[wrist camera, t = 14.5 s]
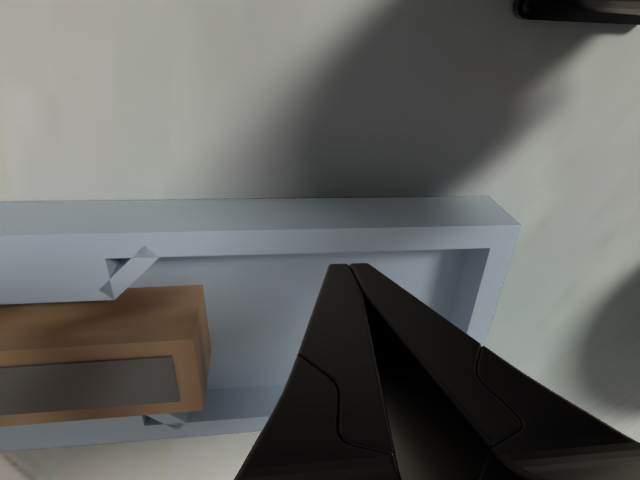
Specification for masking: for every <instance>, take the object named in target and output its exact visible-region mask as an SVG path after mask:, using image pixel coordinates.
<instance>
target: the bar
mask: <svg viewBox="0 0 640 480" xmlns="http://www.w3.org/2000/svg"><path fill="white" fill-rule="evenodd" d="M210 357H211V345H210V337H209V329H208V320H207V312H206V304H205V296H204V288H203V285H184V286H162V287H141V288H127V289H126V290H125V291H124V292H123V293H121V294H120V295H119V296H118V297H117V298H116V299H115V300H101V301H75V302H50V303H24V304H0V427H5V426H18V425H30V424H42V423H55V422H67V421H79V420H92V419H104V418H116V417H129V416H141V415H153V414H166V413H178V412H190V411H203V410H204V404H205V397H206V389H207V381H208V373H209V365H210Z"/></svg>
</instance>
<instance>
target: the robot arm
mask: <svg viewBox="0 0 640 480" xmlns="http://www.w3.org/2000/svg"><path fill="white" fill-rule="evenodd" d="M526 1H527V0H514V3H513V13H514V15H515V16H516V17H517V18H520V19H527V20H549V21H571V22H592V23H614V24H636V25H640V0H529V1H530V7H529V9H528V10H527V11H526V12H525V11H524V9H523V5H524V3H525V2H526ZM234 480H640V443H639V442H637V441H635V440H633V439H631V438H629V437H628V436H626V435H624V434H622V433H621V432H619V431H617V430H616V429H614V428H612V427H611V426H609V425H607V424H606V423H604V422H602V421H601V420H599V419H597V418H596V417H594V416H592V415H591V414H589V413H588V412H586V411H584V410H583V409H581V408H579V407H578V406H576V405H574V404H573V403H571V402H569V401H568V400H566V399H564V398H563V397H561V396H559V395H558V394H556V393H554V392H553V391H551V390H550V389H548V388H546V387H545V386H543V385H542V384H540V383H538V382H537V381H535V380H534V379H532V378H530V377H529V376H527V375H526V374H524V373H522V372H521V371H520V370H518V369H517V368H515V367H514V366H512V365H511V364H509V363H508V362H506V361H505V360H503V359H502V358H500V357H499V356H498V355H496V354H495V353H493V352H492V351H491V350H489V349H488V348H486V347H485V346H481V344H480V343H479V342H478V341H476V340H475V339H474V338H472V337H471V336H469V335H468V334H467V333H465V332H464V331H462V330H461V329H460V328H458V327H457V326H455V325H454V324H453V323H451V322H450V321H448V320H447V319H446V318H444V317H443V316H441V315H440V314H439V313H437V312H436V311H434V310H433V309H432V308H430V307H429V306H427V305H426V304H424V303H423V302H422V301H420V300H419V299H417V298H416V297H415V296H413V295H412V294H410V293H409V292H408V291H406V290H405V289H403V288H402V287H401V286H399V285H398V284H396V283H395V282H394V281H392V280H391V279H389V278H388V277H387V276H385V275H384V274H382V273H381V272H380V271H378V270H377V269H375V268H374V267H373V266H371V265H370V264H368V263H351V264H349V265H348V264H345V263H344V264H330V265H329V266H328V268H327V271H326V274H325V277H324V280H323V283H322V285H321V288H320V291H319V294H318V297H317V300H316V303H315V305H314V308H313V311H312V314H311V317H310V320H309V322H308V325H307V328H306V331H305V334H304V337H303V340H302V342H301V345H300V348H299V351H298V354H297V357H296V359H295V361H294V364H293V367H292V370H291V373H290V375H289V377H288V380H287V382H286V385H285V387H284V390H283V392H282V394H281V396H280V398H279V400H278V402H277V404H276V406H275V408H274V410H273V412H272V413H271V415H270V417H269V419H268V421H267V422H266V424H265V426H264V428H263V429H262V431H261V433H260V435H259V437H258V438H257V440H256V442H255V444H254V445H253V447H252V449H251V451H250V453H249V454H248V456H247V458H246V460H245V461H244V463H243V465H242V467H241V469H240V470H239V472H238V474H237V475H236V477H235V479H234Z"/></svg>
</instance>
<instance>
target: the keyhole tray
mask: <svg viewBox="0 0 640 480" xmlns="http://www.w3.org/2000/svg"><path fill="white" fill-rule="evenodd" d="M520 228H521V224H520V223H519V222H517V221H516V220H515V219H514V218H513V217H512V216H511V215H510V214H509V213H507V212H506V211H505V210H504V209H503V208H502V207H501V206H500V205H498V204H497V203H496V202H495V201H494V200H493V199H492V198H491V197H490V196H473V197H382V198H292V199H201V200H110V201H20V202H0V304H24V303H50V302H75V301H101V300H115V299H116V298H117V297H118V296H119V295H120V294H121V293H123V292H124V291H125V290H126V289H127V288H141V287H162V286H184V285H203V288H204V296H205V304H206V312H207V320H208V329H209V337H210V345H211V357H210V365H209V373H208V381H207V389H206V397H205V404H204V410H203V411H190V412H178V413H166V414H153V415H141V416H129V417H116V418H104V419H92V420H79V421H67V422H55V423H42V424H30V425H18V426H5V427H0V452H5V451H18V450H31V449H43V448H56V447H68V446H81V445H93V444H106V443H118V442H131V441H143V440H156V439H168V438H181V437H193V436H206V435H219V434H231V433H244V432H256V431H262V429H263V428H264V426H265V424H266V422H267V421H268V419H269V417H270V415H271V413H272V412H273V410H274V408H275V406H276V404H277V402H278V400H279V398H280V396H281V394H282V392H283V390H284V387H285V385H286V382H287V380H288V377H289V375H290V373H291V370H292V367H293V364H294V361H295V359H296V357H297V354H298V351H299V348H300V345H301V342H302V340H303V337H304V334H305V331H306V328H307V325H308V322H309V320H310V317H311V314H312V311H313V308H314V305H315V303H316V300H317V297H318V294H319V291H320V288H321V285H322V283H323V280H324V277H325V274H326V271H327V268H328V266H329V265H330V264H344V263H345V264H348V265H349V264H351V263H368V264H370V265H371V266H373V267H374V268H375V269H377V270H378V271H380V272H381V273H382V274H384V275H385V276H387V277H388V278H389V279H391V280H392V281H394V282H395V283H396V284H398V285H399V286H401V287H402V288H403V289H405V290H406V291H408V292H409V293H410V294H412V295H413V296H415V297H416V298H417V299H419V300H420V301H422V302H423V303H424V304H426V305H427V306H429V307H430V308H432V309H433V310H434V311H436V312H437V313H439V314H440V315H441V316H443V317H444V318H446V319H447V320H448V321H450V322H451V323H453V324H454V325H455V326H457V327H458V328H460V329H461V330H462V331H464V332H465V333H467V334H468V335H469V336H471V337H472V338H474V339H475V340H476V341H478V342H479V343H480V344H481V346H484V344H485V341H486V338H487V335H488V331H489V328H490V325H491V322H492V318H493V315H494V312H495V309H496V305H497V302H498V299H499V296H500V292H501V289H502V286H503V283H504V280H505V276H506V273H507V270H508V267H509V263H510V260H511V257H512V254H513V250H514V247H515V244H516V241H517V237H518V234H519V231H520Z"/></svg>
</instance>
